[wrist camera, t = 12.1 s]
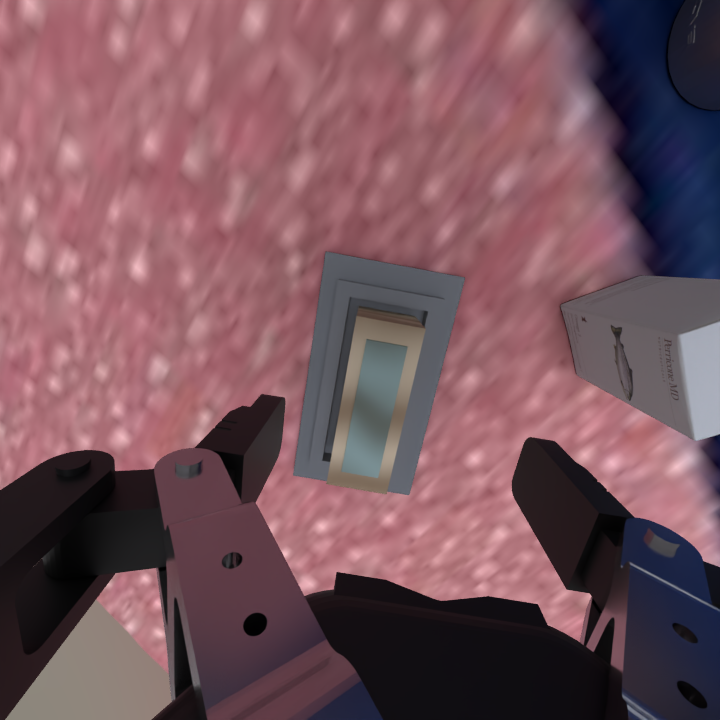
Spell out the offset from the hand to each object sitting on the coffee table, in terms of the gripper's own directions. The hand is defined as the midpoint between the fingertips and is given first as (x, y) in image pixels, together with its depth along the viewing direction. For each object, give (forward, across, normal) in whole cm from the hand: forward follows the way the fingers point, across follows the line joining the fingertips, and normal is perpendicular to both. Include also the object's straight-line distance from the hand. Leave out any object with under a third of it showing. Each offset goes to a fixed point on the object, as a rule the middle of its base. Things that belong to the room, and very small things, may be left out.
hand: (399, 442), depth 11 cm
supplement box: (+22, -20, -3) cm, 30 cm away
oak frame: (+20, 0, +6) cm, 21 cm away
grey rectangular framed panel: (+21, 0, +6) cm, 22 cm away
